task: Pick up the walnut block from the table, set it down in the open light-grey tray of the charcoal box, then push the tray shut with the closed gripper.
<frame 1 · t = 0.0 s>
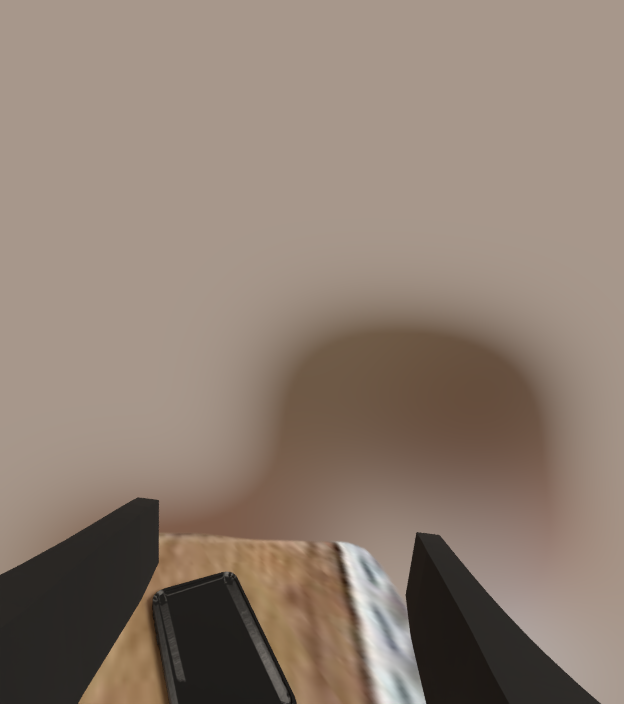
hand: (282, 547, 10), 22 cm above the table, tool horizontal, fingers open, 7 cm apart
phone: (214, 658, 31), on the table
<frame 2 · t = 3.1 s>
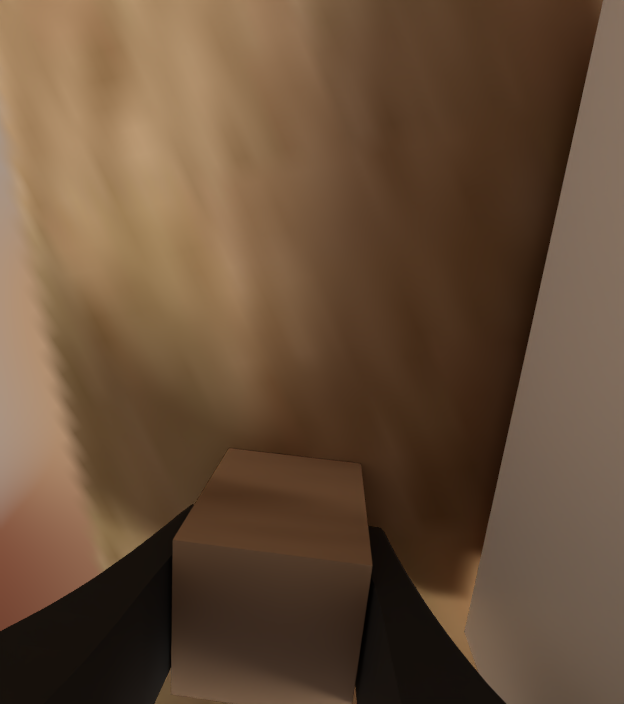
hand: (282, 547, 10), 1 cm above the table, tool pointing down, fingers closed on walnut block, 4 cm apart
walnut block: (289, 514, 12), on the table, touching gripper
when the fingers open (4 cm above the table, at t = 6.6 s): walnut block drops 1 cm, resting on tray.
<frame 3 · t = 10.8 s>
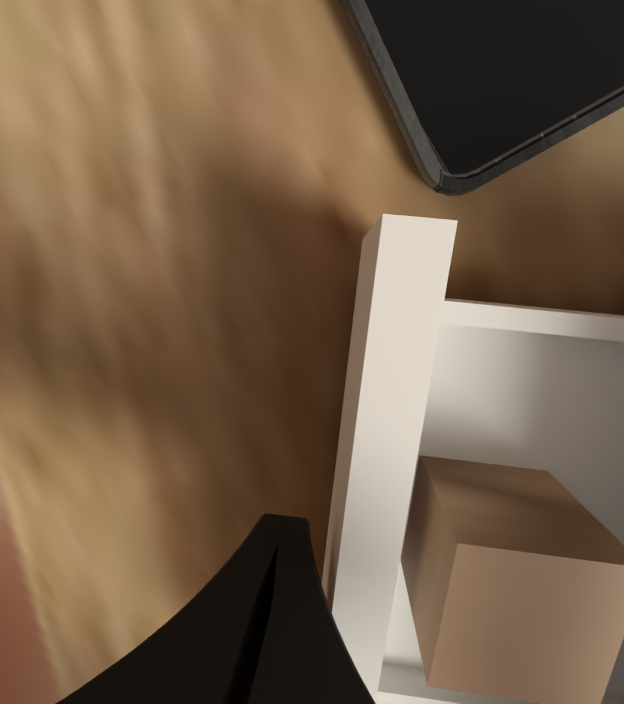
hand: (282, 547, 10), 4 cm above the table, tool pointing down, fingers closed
tray: (623, 583, 10), point 4 cm above the table, slide at 7.7 cm, touching gripper, walnut block
walnut block: (470, 518, 13), point 1 cm above the table, touching tray
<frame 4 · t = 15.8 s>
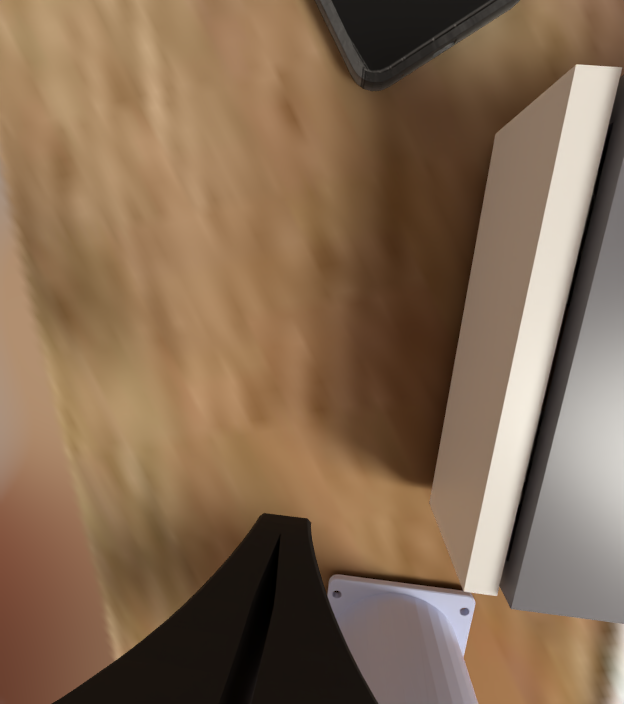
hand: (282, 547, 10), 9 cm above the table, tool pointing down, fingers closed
walnut block: (569, 351, 17), point 1 cm above the table, touching tray
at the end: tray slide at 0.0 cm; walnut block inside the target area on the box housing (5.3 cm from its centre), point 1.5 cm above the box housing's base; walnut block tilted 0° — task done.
